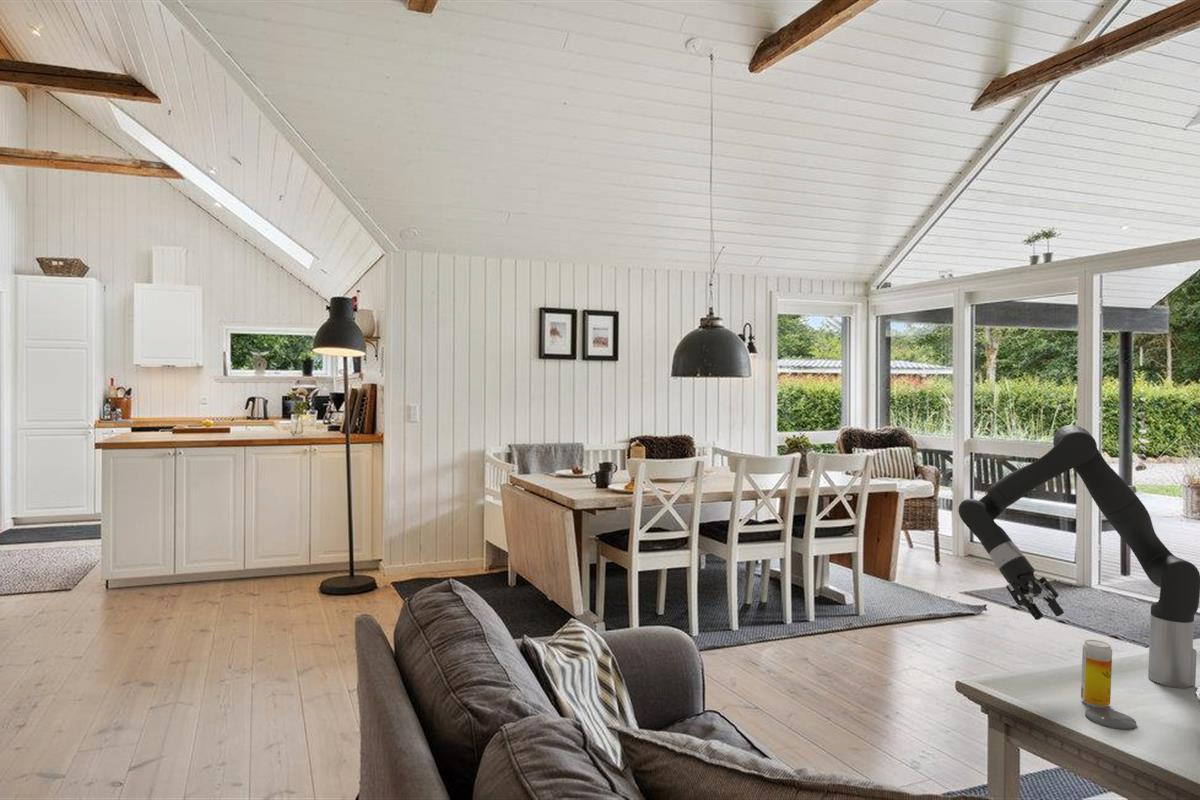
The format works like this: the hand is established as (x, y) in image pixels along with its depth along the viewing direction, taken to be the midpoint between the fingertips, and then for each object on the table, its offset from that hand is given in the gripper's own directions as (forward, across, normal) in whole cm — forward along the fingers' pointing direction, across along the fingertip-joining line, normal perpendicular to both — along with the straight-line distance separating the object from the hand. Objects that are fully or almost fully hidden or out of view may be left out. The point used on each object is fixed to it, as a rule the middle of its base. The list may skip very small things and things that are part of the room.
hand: (1050, 616), depth 197 cm
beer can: (+21, 0, +4) cm, 22 cm away
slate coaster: (+26, -6, -1) cm, 27 cm away
